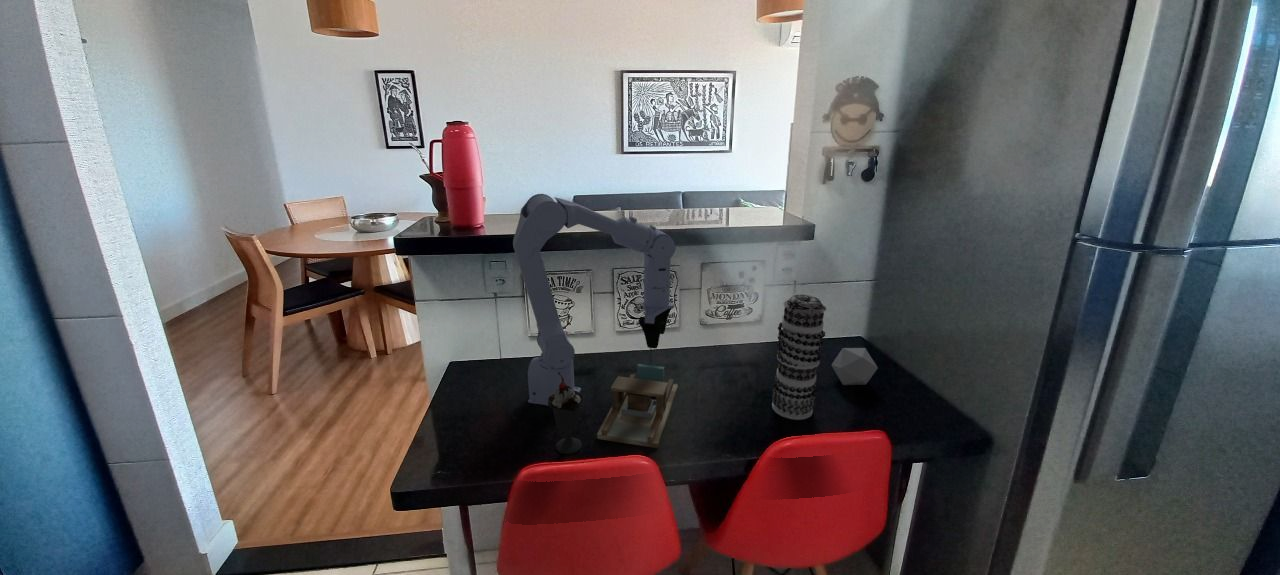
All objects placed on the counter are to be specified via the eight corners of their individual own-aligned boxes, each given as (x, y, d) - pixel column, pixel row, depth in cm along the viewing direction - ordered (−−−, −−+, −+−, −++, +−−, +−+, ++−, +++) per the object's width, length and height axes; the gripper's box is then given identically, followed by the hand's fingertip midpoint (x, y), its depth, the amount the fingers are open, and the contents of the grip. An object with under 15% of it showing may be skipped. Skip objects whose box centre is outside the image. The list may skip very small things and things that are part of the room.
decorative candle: (766, 415, 105) (778, 303, 96) (773, 393, 113) (784, 288, 104) (812, 425, 101) (828, 310, 93) (815, 401, 110) (830, 294, 101)
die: (864, 375, 122) (842, 339, 122) (891, 374, 113) (868, 336, 113) (840, 394, 119) (818, 358, 119) (867, 395, 111) (843, 357, 111)
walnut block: (627, 411, 103) (627, 394, 102) (632, 400, 107) (632, 384, 105) (646, 413, 102) (646, 396, 101) (651, 403, 106) (651, 386, 104)
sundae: (559, 432, 99) (555, 365, 94) (591, 438, 97) (589, 370, 92) (544, 453, 93) (539, 382, 88) (578, 460, 91) (574, 388, 86)
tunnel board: (597, 438, 97) (596, 407, 95) (627, 381, 117) (626, 355, 115) (657, 448, 94) (658, 416, 92) (677, 388, 114) (678, 361, 112)
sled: (621, 414, 103) (621, 394, 101) (637, 381, 115) (637, 363, 114) (651, 418, 101) (652, 399, 100) (664, 385, 114) (665, 367, 112)
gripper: (668, 297, 103) (667, 356, 108) (680, 275, 117) (678, 329, 121) (635, 294, 105) (635, 352, 110) (650, 273, 118) (650, 326, 123)
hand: (656, 340), depth 116 cm, fingers open, 7 cm apart
